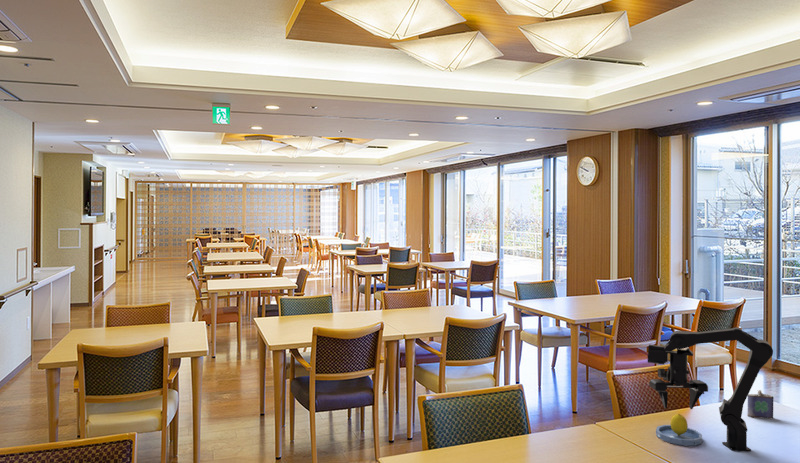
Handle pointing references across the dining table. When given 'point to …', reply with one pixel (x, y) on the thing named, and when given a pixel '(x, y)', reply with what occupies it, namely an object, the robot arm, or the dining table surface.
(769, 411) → the flask
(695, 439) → the light blue round dish
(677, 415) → the lemon
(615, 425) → the dining table surface
